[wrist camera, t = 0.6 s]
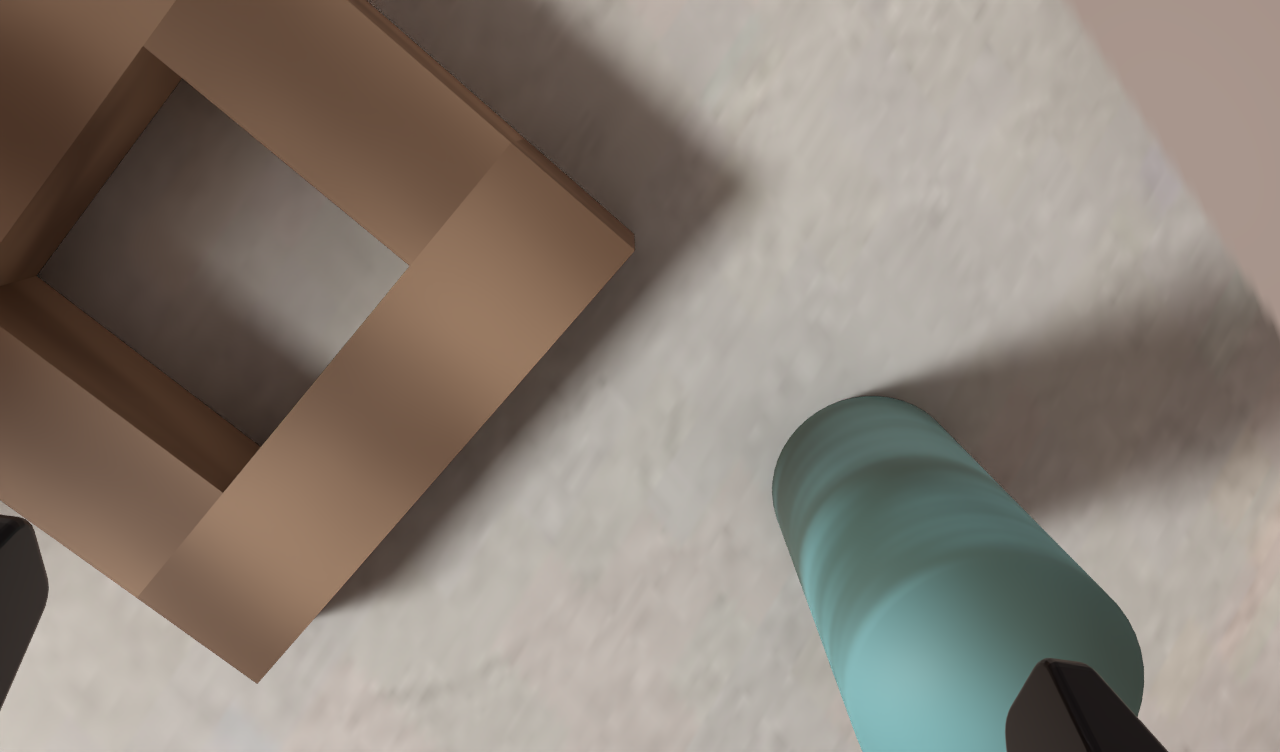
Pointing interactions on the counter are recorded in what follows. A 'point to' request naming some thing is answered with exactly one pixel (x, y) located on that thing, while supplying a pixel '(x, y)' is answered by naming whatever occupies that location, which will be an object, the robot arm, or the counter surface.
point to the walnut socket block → (358, 375)
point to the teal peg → (932, 581)
